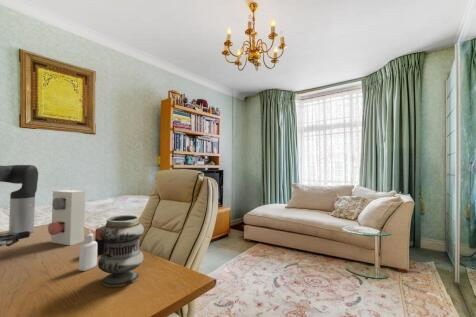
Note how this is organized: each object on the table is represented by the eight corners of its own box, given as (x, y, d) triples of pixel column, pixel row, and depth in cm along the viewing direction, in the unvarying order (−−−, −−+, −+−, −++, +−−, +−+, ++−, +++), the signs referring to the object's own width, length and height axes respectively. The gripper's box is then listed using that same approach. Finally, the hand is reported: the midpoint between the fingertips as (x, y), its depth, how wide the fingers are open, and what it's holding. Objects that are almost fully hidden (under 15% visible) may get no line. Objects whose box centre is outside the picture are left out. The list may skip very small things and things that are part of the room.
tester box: (70, 245, 102) (71, 192, 103) (51, 242, 106) (52, 191, 107) (83, 241, 107) (85, 191, 108) (65, 238, 112) (66, 189, 113)
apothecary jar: (113, 294, 64) (115, 224, 64) (88, 282, 70) (90, 218, 71) (151, 276, 74) (153, 216, 74) (127, 267, 80) (128, 212, 81)
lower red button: (55, 235, 100) (56, 223, 100) (47, 234, 102) (48, 222, 102) (72, 231, 106) (72, 220, 107) (64, 230, 108) (65, 219, 108)
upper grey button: (60, 210, 102) (60, 198, 102) (52, 209, 103) (52, 197, 104) (76, 208, 108) (76, 196, 108) (68, 207, 110) (69, 196, 110)
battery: (117, 250, 96) (118, 225, 96) (98, 255, 91) (99, 228, 91) (113, 248, 99) (113, 223, 99) (94, 252, 94) (95, 226, 94)
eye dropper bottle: (100, 267, 81) (101, 230, 81) (80, 272, 76) (82, 233, 77) (94, 263, 83) (95, 228, 84) (75, 268, 79) (77, 231, 79)
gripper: (-24, 237, 75) (40, 225, 91) (-46, 233, 79) (18, 222, 96) (-25, 262, 74) (39, 246, 91) (-47, 256, 79) (17, 241, 95)
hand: (28, 233), depth 93 cm, fingers closed
